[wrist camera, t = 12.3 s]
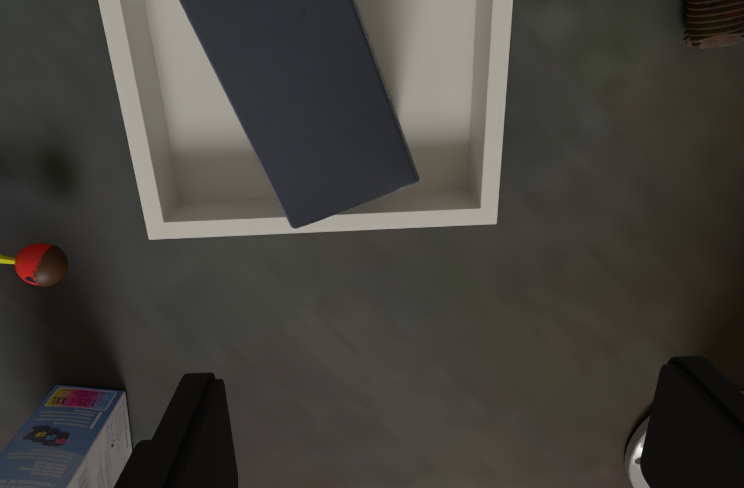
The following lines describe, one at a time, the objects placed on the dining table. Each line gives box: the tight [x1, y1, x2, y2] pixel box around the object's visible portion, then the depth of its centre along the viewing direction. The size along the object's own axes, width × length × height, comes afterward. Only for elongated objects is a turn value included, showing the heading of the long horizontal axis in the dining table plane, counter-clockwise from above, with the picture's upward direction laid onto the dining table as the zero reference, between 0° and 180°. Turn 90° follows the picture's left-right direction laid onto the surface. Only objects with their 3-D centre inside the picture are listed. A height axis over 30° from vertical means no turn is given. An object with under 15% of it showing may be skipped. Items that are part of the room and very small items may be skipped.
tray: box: [98, 0, 513, 240], centre depth 29 cm, size 20×18×4 cm
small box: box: [179, 0, 419, 229], centre depth 25 cm, size 11×6×10 cm, turn 21°
